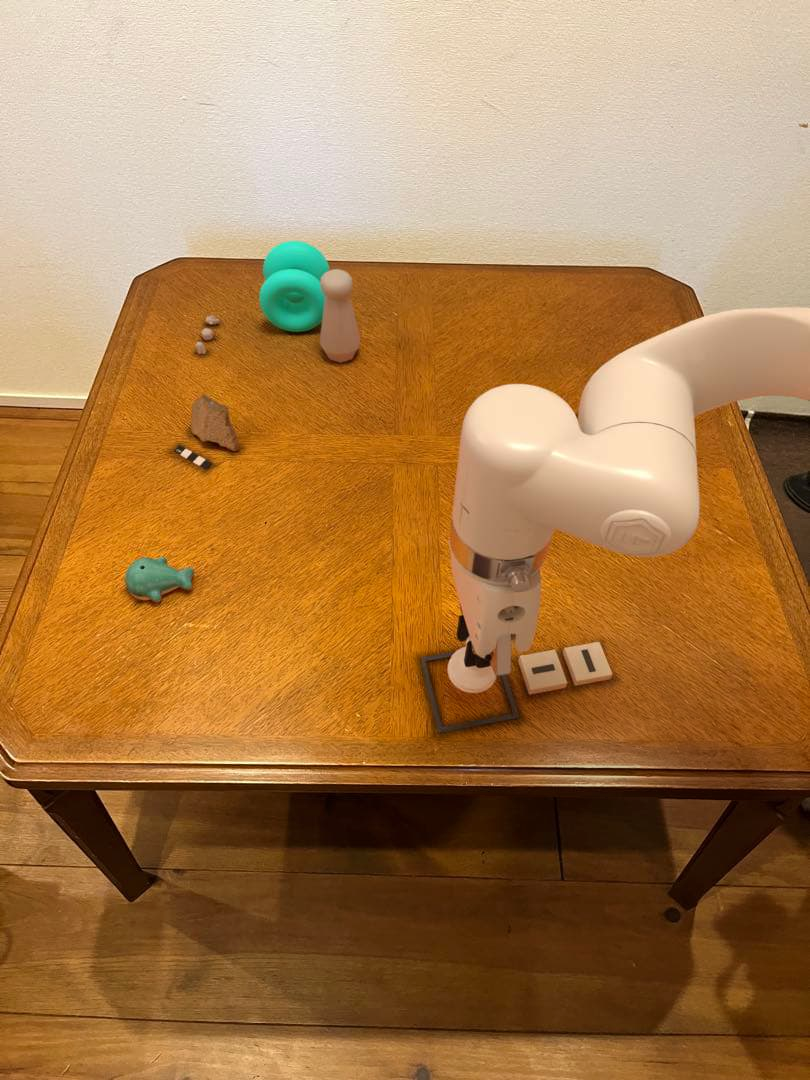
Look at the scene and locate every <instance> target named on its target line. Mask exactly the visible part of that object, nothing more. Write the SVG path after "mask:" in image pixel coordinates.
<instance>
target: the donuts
mask: <svg viewBox="0 0 810 1080" xmlns="http://www.w3.org/2000/svg"><path fill="white" fill-rule="evenodd" d="M330 270H331V269H330V265H329V263H328V261H327V258H326V257H325V255H324V254H323V253H322V252H321V251H320V250H319V249H318V248H316V247H315V246H313V245H311V244H310V243H307V242H306V241H305V242H304V241H299V240H289V241H284V242H281V243H279V244H277V245H275V246H274V247H273V248H272V249H271V250H269V252H268V253H267V254H266V255H265V258H264V262H263V267H262V273H263V278H264V282H263V283H262V285H261V287H260V290H259V295H258V296H259V297H258V301H259V306H260V309H261V312H262V314H263V315H264V316H265V318H266V319H267V320H268V321H269V322H270V324H272V325H274V326H275V327H277V328H278V329H281V330H284V331H287V332H291V333H301V332H307V331H310V330H313V329H314V328H316V327H317V326H319V325H320V324H322V318H323V310H324V302H325V295H324V294H323V292H322V290H321V277H322V276H323V274H324V273H326V272H327V271H330Z"/></svg>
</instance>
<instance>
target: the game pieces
mask: <svg viewBox="0 0 810 1080" xmlns="http://www.w3.org/2000/svg"><path fill="white" fill-rule="evenodd" d="M205 323H206V324H208V325H211V326H215V325H217V324H220V323H221V322H220V319H217V317H216V315H214V314H211V315H208V316H206V317H205ZM201 337H202V339H203V340H204V341H206V342H210V341H212V340H213V337H214V334H213V330H212V329H211V328H207V327H206V328H203V329H202V330H201ZM194 347H195V350H196V352H197V355H205V354H206V352H207V350H206V347H205V344H204V343H203V342H202V341H196V344H194Z"/></svg>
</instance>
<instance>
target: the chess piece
mask: <svg viewBox="0 0 810 1080" xmlns="http://www.w3.org/2000/svg"><path fill="white" fill-rule="evenodd" d="M469 641H471V639H470V636H469V637H468V638H467V640H466V641H465V646H463V647H460V648H458V649H456V650H455V651H454V652H455V653H454V654H453V655H452V657H451V658H449V661H448V663H447V675H448V679H449V680H450V681H451V683H452V684H453V685H454V687H456V688H457V689H459V690H460V691H462V692H465V693H469V694H479V693H483V692H485V691H486V690H488V689H490V688H492V686H493V684H495V681H496V679H497V677H496V676H495V674H494V671H493V669H492V667H491V666H489V667H484V668H477V667H476V666H472V667H465V664H464V657H465V652H466V646H467V643H468V642H469Z"/></svg>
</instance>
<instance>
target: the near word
mask: <svg viewBox="0 0 810 1080" xmlns="http://www.w3.org/2000/svg"><path fill="white" fill-rule="evenodd" d="M455 652H456V651H450V652H445V653H439V654H434V655H433V654H432V655H428V656H423V657H420V658H419V659H420V661H419V662H420V665H421V669H422V672H423V677H424V681H425V685H426V689H427V693H428V698H429V702H430V705H431V710H432V714H433V718H434V723H435V727H436V730H437V734H438V735H439V734H443V733H450V732H455V731H460V730H464V729H471V728H475V727H479V726H485V725H486V726H487V725H490V724H496V723H501V722H506V721H512V720H516V719H520V714H519V711H518V708H517V705H516V701H515V697H514V695H513V692H512V689H511V685H510V683H509V679H508V675H504V676H500V677H501V680H502V683H503V686H504V689H505V690H504V691H505V693H506V696H507V700H508V702H509V705H510V709H511V712H512V713H508V714H503V715H498V716H494V717H488V718H483V719H477V720H472V721H467V722H463V723H462V722H461V723H458V724H451V725H447V726H443V725H442V720H441V718H440V717H441V716H440V714H439V710H438V705H437V701H436V697H435V694H434V690H433V685H432V680H431V677H430V672H429V669H428V665H427V663H428V662H429V663H430V662H434V661H439V660H441V661H442V660H445V659H450V658H451V657H452V655H453V654H454V653H455ZM562 655H563V659H564V661H565V664H566V667H567V669H568V672H569V675H570V677H571V680H572V683H573V686H575V687H577V686H582V685H588V684H592V683H597V682H603V681H608V680H611V679H612V676H613V672H612V669H611V667H610V664H609V662H608V659H607V656H606V655H605V652H604V650H603V647H602V645H601V642H600V641H595V642H589V643H584V644H577V645H573V646H568V647H564V648H563V650H562ZM517 662H518V666H519V668H520V672H521V674H522V678H523V681H524V684H525V688H526V690H527V693H528V695H529V696H530V695H534V694H541V693H545V692H551V691H556V690H561V689H565V688H567V685H568V681H567V677H566V675H565V672H564V670H563V667H562V664H561V661H560V659H559V655H558V654H557V651H556V649H550V650H545V651H538V652H534V653H527V654H523V655H519V656H518V660H517Z"/></svg>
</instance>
